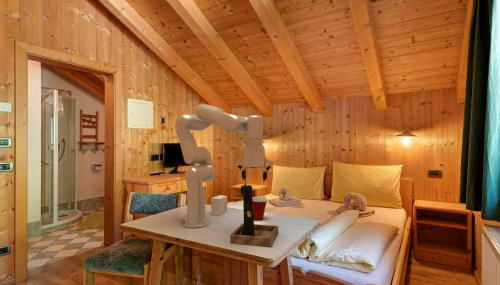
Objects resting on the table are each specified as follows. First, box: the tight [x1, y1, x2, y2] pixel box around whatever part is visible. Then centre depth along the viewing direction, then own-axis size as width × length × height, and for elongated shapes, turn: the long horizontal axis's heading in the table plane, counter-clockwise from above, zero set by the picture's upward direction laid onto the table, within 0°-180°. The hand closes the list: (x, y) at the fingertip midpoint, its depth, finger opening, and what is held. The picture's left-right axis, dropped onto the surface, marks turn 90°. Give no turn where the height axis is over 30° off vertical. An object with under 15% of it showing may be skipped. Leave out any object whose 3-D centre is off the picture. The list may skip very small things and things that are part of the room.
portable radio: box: [240, 179, 255, 236], centre depth 119 cm, size 8×6×25 cm
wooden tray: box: [229, 222, 279, 248], centre depth 119 cm, size 18×18×4 cm
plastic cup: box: [253, 196, 269, 222], centre depth 150 cm, size 11×11×12 cm
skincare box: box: [210, 194, 228, 216], centre depth 164 cm, size 10×6×10 cm, turn 159°
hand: (254, 179), depth 120 cm, fingers open, 9 cm apart
